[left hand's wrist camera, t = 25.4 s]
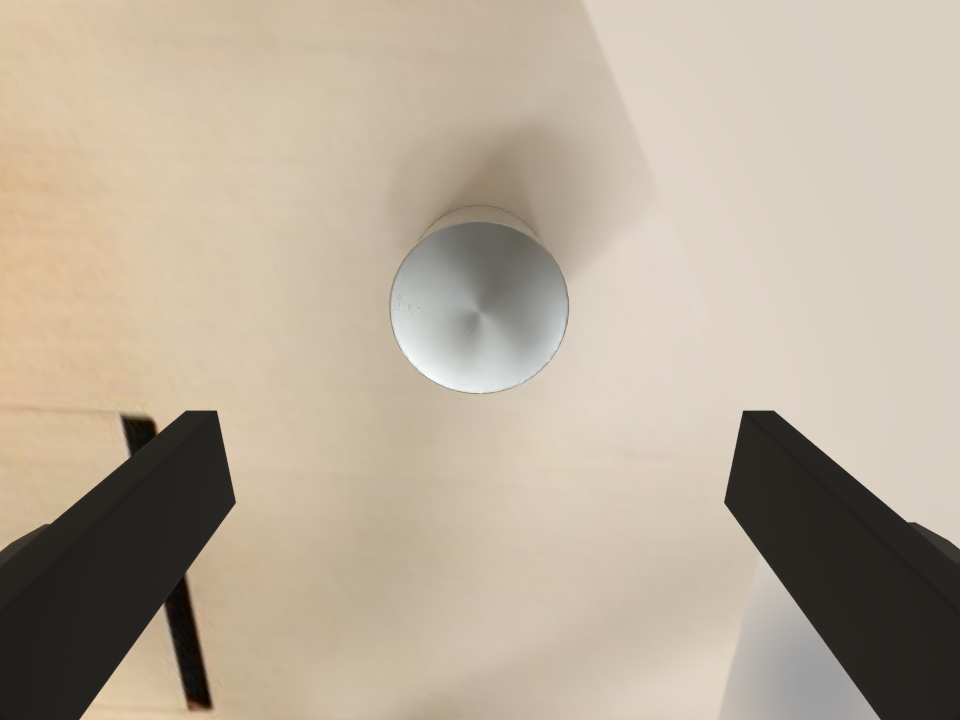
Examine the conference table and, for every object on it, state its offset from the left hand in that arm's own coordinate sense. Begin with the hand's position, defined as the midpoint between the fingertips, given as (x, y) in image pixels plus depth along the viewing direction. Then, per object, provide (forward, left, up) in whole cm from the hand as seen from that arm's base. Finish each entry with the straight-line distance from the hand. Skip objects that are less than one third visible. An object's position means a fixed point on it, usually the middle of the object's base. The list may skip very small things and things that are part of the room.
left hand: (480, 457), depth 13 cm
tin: (0, 0, -23) cm, 23 cm away
